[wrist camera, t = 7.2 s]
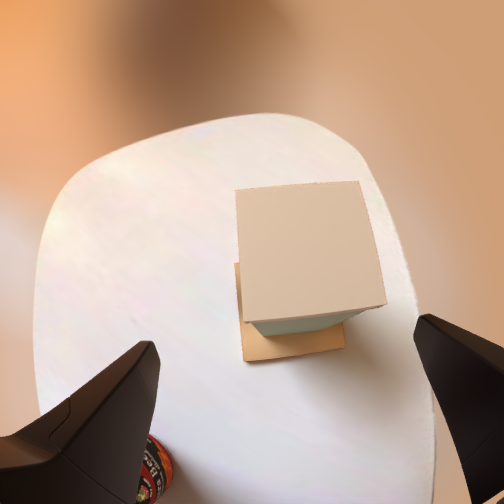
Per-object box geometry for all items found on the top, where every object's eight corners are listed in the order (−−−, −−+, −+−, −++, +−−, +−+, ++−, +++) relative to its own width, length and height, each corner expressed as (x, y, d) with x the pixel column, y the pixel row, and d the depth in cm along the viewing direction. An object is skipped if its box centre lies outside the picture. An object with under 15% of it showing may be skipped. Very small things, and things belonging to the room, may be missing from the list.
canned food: (182, 496, 16) (131, 560, 6) (109, 483, 17) (41, 521, 6) (168, 426, 19) (96, 468, 9) (94, 417, 19) (10, 434, 9)
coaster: (343, 347, 20) (345, 347, 20) (244, 361, 21) (243, 361, 20) (328, 253, 23) (329, 251, 23) (235, 265, 24) (234, 263, 23)
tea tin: (322, 331, 20) (386, 303, 8) (261, 337, 21) (243, 321, 8) (315, 273, 22) (358, 180, 10) (257, 279, 22) (235, 190, 10)
